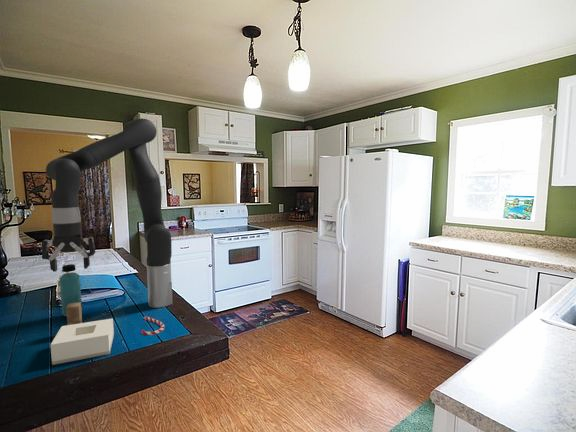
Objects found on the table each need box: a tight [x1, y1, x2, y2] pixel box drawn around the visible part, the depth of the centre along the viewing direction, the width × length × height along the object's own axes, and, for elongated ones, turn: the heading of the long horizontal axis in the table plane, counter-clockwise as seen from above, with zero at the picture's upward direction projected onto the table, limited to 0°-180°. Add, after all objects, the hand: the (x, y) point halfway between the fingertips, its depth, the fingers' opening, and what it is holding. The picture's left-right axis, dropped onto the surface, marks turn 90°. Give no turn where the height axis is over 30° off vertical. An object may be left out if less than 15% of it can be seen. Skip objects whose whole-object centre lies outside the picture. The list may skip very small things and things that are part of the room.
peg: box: [66, 301, 83, 325], centre depth 104 cm, size 4×4×10 cm
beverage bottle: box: [58, 263, 83, 317], centre depth 116 cm, size 6×7×20 cm
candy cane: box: [141, 316, 165, 336], centre depth 110 cm, size 8×1×15 cm
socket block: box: [50, 318, 115, 366], centre depth 94 cm, size 14×12×6 cm
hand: (70, 269), depth 102 cm, fingers open, 8 cm apart
